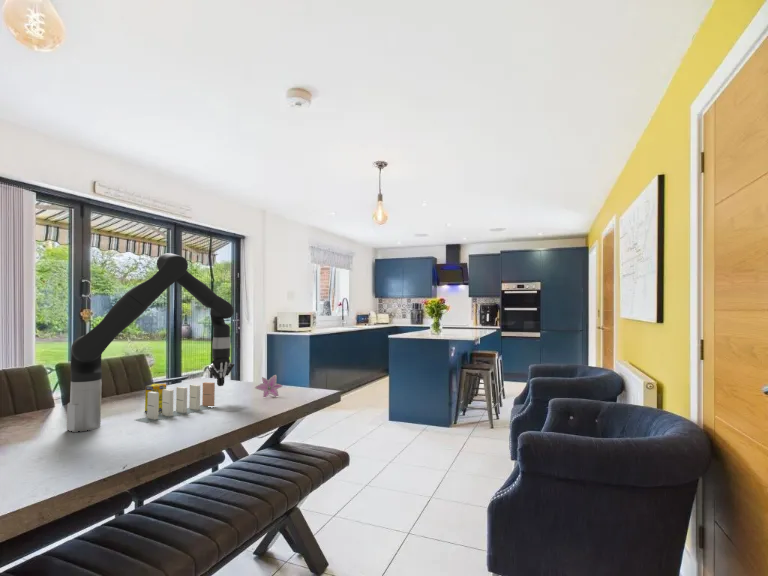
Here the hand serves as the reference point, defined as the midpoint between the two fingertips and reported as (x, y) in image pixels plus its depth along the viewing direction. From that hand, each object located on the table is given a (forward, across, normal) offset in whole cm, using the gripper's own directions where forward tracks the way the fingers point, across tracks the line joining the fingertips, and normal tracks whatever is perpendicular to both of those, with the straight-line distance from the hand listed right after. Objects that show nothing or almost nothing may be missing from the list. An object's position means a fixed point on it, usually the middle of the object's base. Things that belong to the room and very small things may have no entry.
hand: (220, 385), depth 192 cm
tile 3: (+8, -19, 0) cm, 20 cm away
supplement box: (+8, -23, +12) cm, 27 cm away
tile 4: (+8, -25, 0) cm, 26 cm away
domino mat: (+8, -20, -1) cm, 22 cm away
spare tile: (+8, -6, 0) cm, 10 cm away
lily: (+8, +23, -6) cm, 25 cm away
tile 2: (+8, -13, 0) cm, 15 cm away
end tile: (+8, -31, 0) cm, 32 cm away
